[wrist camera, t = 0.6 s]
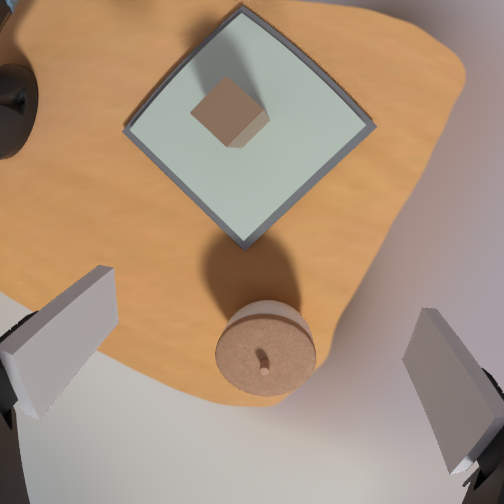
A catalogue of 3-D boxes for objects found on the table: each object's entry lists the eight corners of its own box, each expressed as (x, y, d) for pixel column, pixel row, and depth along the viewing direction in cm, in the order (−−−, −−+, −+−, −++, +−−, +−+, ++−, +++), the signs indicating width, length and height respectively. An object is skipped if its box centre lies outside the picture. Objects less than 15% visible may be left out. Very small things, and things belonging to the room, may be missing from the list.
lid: (132, 130, 33) (84, 127, 23) (242, 15, 27) (227, -27, 18) (244, 238, 35) (229, 271, 26) (364, 125, 30) (394, 117, 21)
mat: (126, 131, 34) (122, 131, 33) (243, 9, 28) (242, 5, 27) (245, 248, 37) (244, 251, 36) (374, 127, 31) (377, 126, 30)
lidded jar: (276, 268, 37) (272, 306, 28) (328, 330, 39) (337, 377, 30) (210, 316, 40) (190, 360, 31) (263, 369, 42) (257, 418, 33)
